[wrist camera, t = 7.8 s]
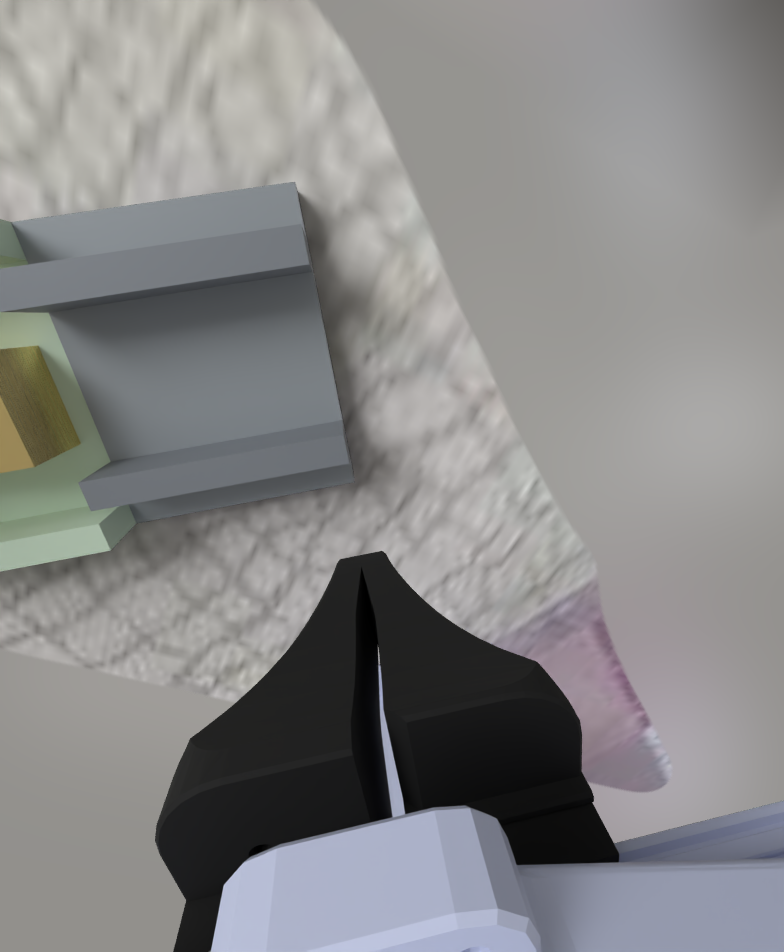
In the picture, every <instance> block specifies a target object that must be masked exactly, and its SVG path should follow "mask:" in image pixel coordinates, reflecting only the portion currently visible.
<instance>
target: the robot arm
mask: <svg viewBox="0 0 784 952" xmlns="http://www.w3.org/2000/svg"><path fill="white" fill-rule="evenodd" d="M378 647H379V655H380V665H379V666H378ZM581 766H582V731H581V725H580V720H579V718H578V717H577V715H576V713H575V711H574V709H573V707H572V706H571V704H570V702H569V701H568V699H567V698H566V696H565V695H564V694H563V692H562V691H561V690H560V688H559V687H558V686H557V685H556V683H555V682H554V681H553V680H552V678H551V677H550V676H549V675H548V674H547V673H546V671H545V670H544V669H543V668H542V667H541V666H540V664H539V663H538V662H536V661H533V660H531V659H528V658H525V657H522V656H520V655H517V654H514V653H511V652H508V651H506V650H503V649H501V648H498V647H496V646H494V645H492V644H490V643H487V642H485V641H483V640H481V639H479V638H477V637H475V636H474V635H472V634H470V633H468V632H467V631H465V630H463V629H461V628H460V627H458V626H457V625H455V624H454V623H452V622H451V621H449V620H448V619H446V618H445V617H444V616H442V615H441V614H440V613H439V612H437V611H436V610H435V609H434V608H432V607H431V606H430V605H429V604H428V603H426V602H425V601H424V600H423V599H422V598H421V597H420V596H419V595H418V594H417V593H416V592H415V591H414V590H413V589H412V588H411V587H410V586H409V585H408V584H407V583H406V581H405V580H404V579H403V578H402V577H401V576H400V574H399V573H398V572H397V571H396V569H395V568H394V567H393V565H392V564H391V562H390V561H389V559H388V557H387V555H386V553H384V552H383V551H379V552H374V553H369V554H364V555H359V556H354V557H349V558H344V559H340V560H339V562H338V563H337V565H336V568H335V571H334V573H333V575H332V578H331V580H330V582H329V584H328V586H327V588H326V590H325V592H324V594H323V596H322V598H321V600H320V602H319V604H318V606H317V607H316V609H315V611H314V612H313V614H312V616H311V617H310V619H309V621H308V622H307V624H306V625H305V627H304V628H303V630H302V631H301V633H300V634H299V636H298V637H297V638H296V640H295V641H294V643H293V644H292V645H291V646H290V648H289V649H288V650H287V652H286V653H285V654H284V655H283V656H282V657H281V659H280V660H279V661H278V662H277V663H276V664H275V665H274V666H273V667H272V668H271V670H270V671H269V672H268V673H267V674H266V675H265V676H264V677H263V678H262V679H261V680H260V681H259V682H258V683H257V684H256V685H255V686H254V687H253V688H252V689H251V690H250V691H249V692H247V693H246V694H245V695H244V696H243V697H242V698H241V699H240V700H239V701H237V702H236V703H235V704H234V705H233V706H232V707H230V708H229V709H228V710H227V711H226V712H224V713H223V714H222V715H220V716H219V717H218V718H217V719H215V720H214V721H213V722H212V723H210V724H209V725H208V726H206V727H205V728H204V729H202V730H201V731H200V732H199V733H197V734H196V735H194V736H193V737H192V738H190V740H189V743H188V745H187V747H186V749H185V752H184V754H183V756H182V758H181V760H180V762H179V765H178V767H177V769H176V772H175V774H174V777H173V780H172V782H171V785H170V788H169V791H168V794H167V797H166V800H165V802H164V805H163V808H162V811H161V814H160V817H159V820H158V823H157V827H156V836H155V842H156V844H157V847H158V850H159V853H160V856H161V857H162V859H163V861H164V862H165V864H166V866H167V868H168V870H169V871H170V873H171V874H172V876H173V878H174V880H175V882H176V883H177V885H178V887H179V889H180V890H181V892H182V893H183V895H184V897H185V899H186V904H185V908H184V912H183V916H182V920H181V924H180V928H179V932H178V936H177V939H176V944H175V947H174V951H173V952H784V801H780V802H776V803H772V804H768V805H764V806H761V807H756V808H752V809H749V810H745V811H741V812H737V813H733V814H729V815H725V816H721V817H717V818H713V819H709V820H705V821H701V822H697V823H693V824H689V825H685V826H681V827H677V828H673V829H669V830H665V831H662V832H658V833H654V834H650V835H646V836H642V837H638V838H634V839H630V840H626V841H622V842H618V843H613V841H612V839H611V837H610V835H609V833H608V832H607V830H606V828H605V826H604V824H603V822H602V820H601V818H600V816H599V815H598V813H597V811H596V809H595V807H594V805H593V803H592V802H593V801H594V796H593V793H592V790H591V788H590V786H589V785H588V783H587V781H586V779H585V777H584V775H583V774H582V772H581Z"/></svg>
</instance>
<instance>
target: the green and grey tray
mask: <svg viewBox="0 0 784 952" xmlns="http://www.w3.org/2000/svg"><path fill="white" fill-rule="evenodd" d="M28 346H39V348H40V350H41V353H42V355H43V357H44V360H45V362H46V364H47V367H48V369H49V371H50V373H51V376H52V378H53V380H54V383H55V385H56V387H57V390H58V392H59V394H60V396H61V399H62V401H63V403H64V406H65V408H66V410H67V412H68V415H69V417H70V419H71V422H72V424H73V426H74V429H75V431H76V433H77V435H78V438H79V440H80V442H81V444H80V445H78V446H76V447H74V448H72V449H70V450H68V451H66V452H64V453H62V454H60V455H58V456H56V457H54V458H52V459H50V460H48V461H46V462H44V463H42V464H40V465H38V466H36V467H32V468H27V469H21V470H16V471H10V472H4V473H0V572H1V571H6V570H11V569H17V568H22V567H27V566H32V565H38V564H43V563H48V562H53V561H58V560H64V559H69V558H74V557H79V556H84V555H90V554H95V553H100V552H105V551H110V550H112V548H113V547H114V546H115V545H116V544H117V543H118V542H119V541H120V540H121V539H122V538H123V537H124V536H125V535H126V534H127V533H128V532H129V531H130V530H131V529H132V528H133V526H134V525H135V524H136V523H142V522H147V521H152V520H158V519H163V518H168V517H174V516H179V515H184V514H189V513H195V512H200V511H205V510H211V509H216V508H221V507H226V506H232V505H237V504H242V503H248V502H253V501H258V500H264V499H269V498H274V497H279V496H285V495H290V494H295V493H301V492H306V491H311V490H317V489H322V488H327V487H332V486H338V485H343V484H348V483H354V482H355V481H354V473H353V468H352V463H351V458H350V453H349V448H348V443H347V438H346V433H345V428H344V423H343V418H342V413H341V408H340V403H339V398H338V393H337V387H336V382H335V377H334V372H333V367H332V362H331V357H330V352H329V347H328V342H327V337H326V332H325V327H324V322H323V317H322V312H321V307H320V302H319V297H318V292H317V287H316V282H315V277H314V271H313V266H312V261H311V256H310V251H309V246H308V241H307V236H306V231H305V226H304V221H303V216H302V211H301V206H300V201H299V196H298V191H297V187H296V184H295V182H290V183H283V184H276V185H269V186H262V187H255V188H248V189H241V190H234V191H227V192H220V193H213V194H206V195H199V196H192V197H185V198H178V199H170V200H163V201H156V202H149V203H142V204H135V205H128V206H121V207H114V208H107V209H100V210H93V211H86V212H79V213H72V214H65V215H58V216H51V217H44V218H37V219H30V220H23V221H16V222H8V221H5V220H2V219H0V349H7V348H18V347H28Z"/></svg>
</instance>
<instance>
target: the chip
mask: <svg viewBox="0 0 784 952" xmlns="http://www.w3.org/2000/svg"><path fill="white" fill-rule="evenodd" d="M80 444H81V442H80V440H79V438H78V435H77V433H76V431H75V429H74V426H73V424H72V422H71V419H70V417H69V415H68V412H67V410H66V408H65V406H64V403H63V401H62V399H61V396H60V394H59V392H58V390H57V387H56V385H55V383H54V380H53V378H52V376H51V373H50V371H49V369H48V367H47V364H46V362H45V360H44V357H43V355H42V353H41V350H40V348H39V346H28V347H18V348H7V349H0V473H4V472H10V471H16V470H21V469H27V468H32V467H36V466H38V465H40V464H42V463H44V462H46V461H48V460H50V459H52V458H54V457H56V456H58V455H60V454H62V453H64V452H66V451H68V450H70V449H72V448H74V447H76V446H78V445H80Z"/></svg>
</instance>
